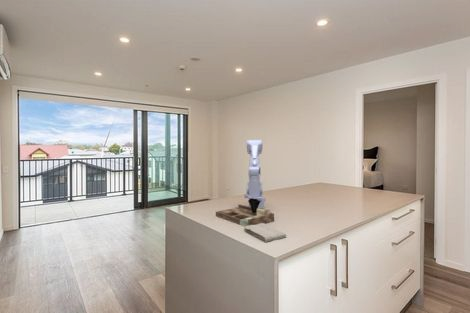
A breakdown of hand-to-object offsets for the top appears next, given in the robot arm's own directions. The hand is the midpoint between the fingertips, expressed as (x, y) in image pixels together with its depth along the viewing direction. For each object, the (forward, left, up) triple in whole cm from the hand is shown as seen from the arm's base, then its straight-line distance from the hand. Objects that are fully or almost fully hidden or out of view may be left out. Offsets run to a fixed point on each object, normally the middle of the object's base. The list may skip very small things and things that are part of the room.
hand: (254, 212), depth 136 cm
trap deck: (+5, -3, -3) cm, 7 cm away
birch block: (0, +7, -1) cm, 7 cm away
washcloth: (+14, +21, -4) cm, 25 cm away
